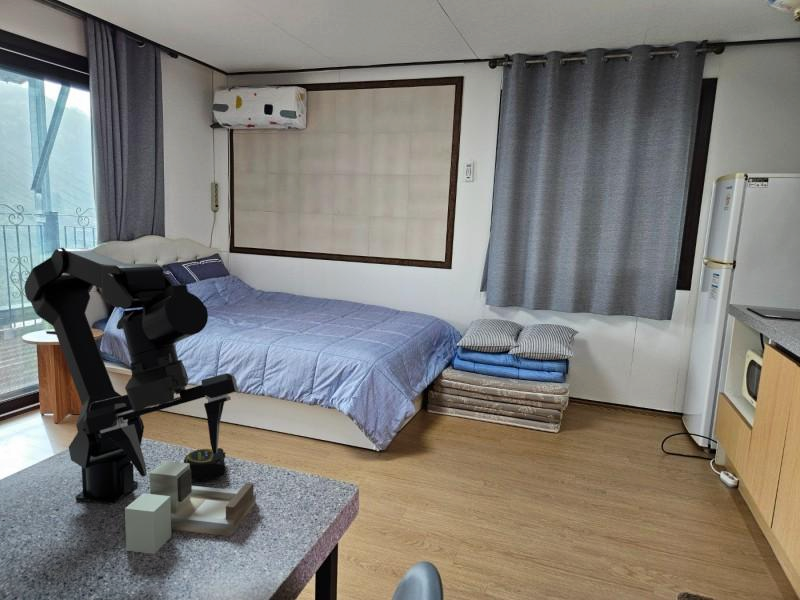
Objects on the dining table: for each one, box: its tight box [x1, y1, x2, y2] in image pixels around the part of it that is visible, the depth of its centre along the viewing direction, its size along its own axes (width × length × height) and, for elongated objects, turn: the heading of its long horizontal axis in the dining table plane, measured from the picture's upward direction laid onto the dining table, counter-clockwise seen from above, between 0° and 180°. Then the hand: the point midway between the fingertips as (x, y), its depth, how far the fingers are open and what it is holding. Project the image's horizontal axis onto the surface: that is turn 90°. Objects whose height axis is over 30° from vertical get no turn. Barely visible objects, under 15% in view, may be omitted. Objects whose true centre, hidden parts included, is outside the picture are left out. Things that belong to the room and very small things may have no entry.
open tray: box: [149, 460, 257, 537], centre depth 79 cm, size 14×9×7 cm, turn 83°
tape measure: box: [183, 447, 227, 482], centre depth 91 cm, size 7×7×4 cm
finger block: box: [124, 493, 172, 555], centre depth 72 cm, size 4×4×6 cm
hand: (180, 464), depth 71 cm, fingers open, 9 cm apart
